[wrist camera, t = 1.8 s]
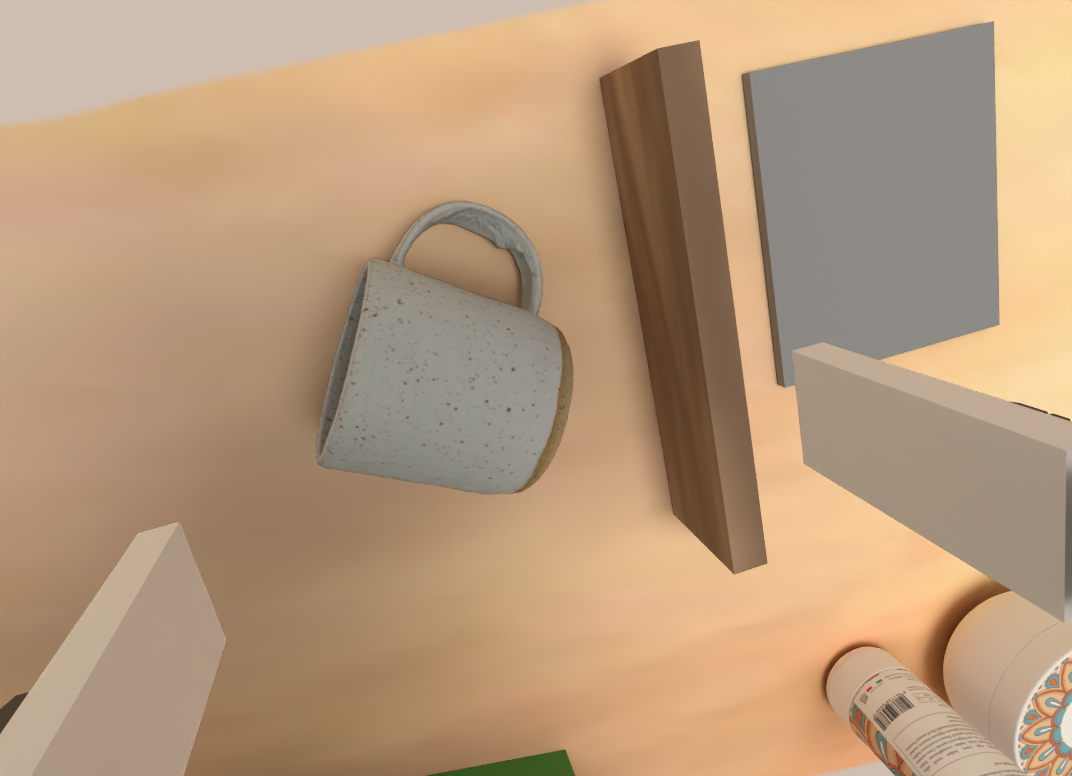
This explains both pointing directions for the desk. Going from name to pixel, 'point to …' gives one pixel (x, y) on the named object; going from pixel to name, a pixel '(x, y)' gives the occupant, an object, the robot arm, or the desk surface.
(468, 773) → the hardback book
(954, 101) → the mat
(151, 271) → the desk surface
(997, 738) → the cosmetic set
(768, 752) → the desk surface
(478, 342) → the ceramic mug
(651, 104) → the walnut screen
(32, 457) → the desk surface
